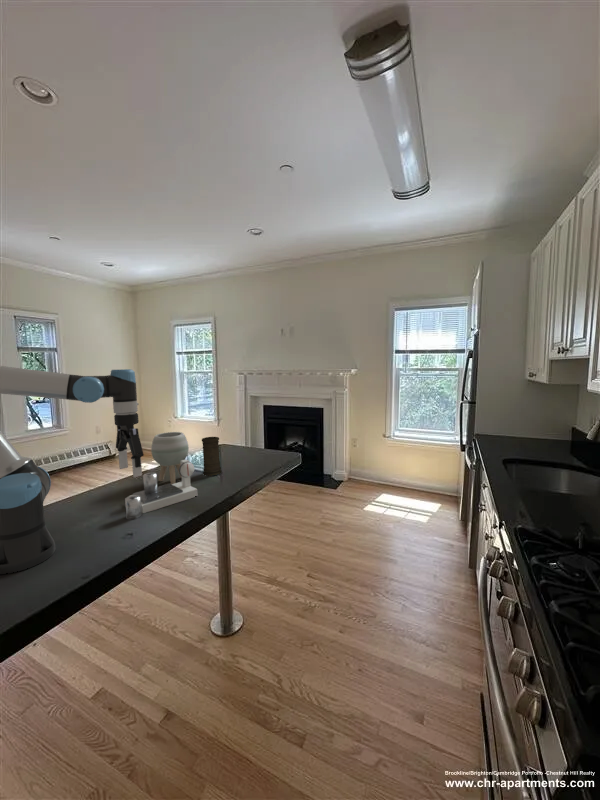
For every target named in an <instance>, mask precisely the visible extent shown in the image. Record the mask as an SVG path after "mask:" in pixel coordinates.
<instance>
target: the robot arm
mask: <svg viewBox="0 0 600 800" xmlns="http://www.w3.org/2000/svg"><path fill="white" fill-rule="evenodd" d="M135 373H136V371H134V370H133V369H111V371H110V373H109V374H108V375H79V374H78V375H77V374H70V373H69V374H68V373H60V372H53V371H45V370H38V369H37V370H36V369H30V368H29V369H28V368H20V367H13V366H4V365H0V395H11V396H12V395H13V396H23V397H34V398H35V397H36V398H46V399H59V400H69V401H78V402H81V403H89V404H90V403H91V404H92V403H94V402H95V403H96V402H97V401H99V400H100V399H101V398H112V406H113V408H112V409H113V413H114V416H113V418H114V425H115V426H116V431H117V432H116V440H115V449H116V450H117V451H118V465H119V470H123V469H127V468H129V461H128V447H129V450H130V453H131V457H130V459H131V464H132V465H131V466H132V477H133V478H137V477H141V476H143V470H142V469H143V468H142V457H144V456H145V455H144V450H143V446H142V443H141V438H140V434H139V428H135V427H134V426H135V425H137V424H138V423H139V414H138V411H139V410H138V406H139V402H138V394H137V381H136V374H135ZM127 445H128V447H127ZM51 487H52V481H51V477H50V475H49V473H48V471H46V469H44V468H42V467H40V466H38V465H37V464H36V463H35V461H34V460H33V459H32V458H31V457H25V456H22V455H21V454H20V453H19V452H18V450H17V449H16V448H15V446H14V445H13V444H12V443H11V442H10V441H9V439H8V438H7V437H6V435H4V433H3V432H2V430H0V575H7V574H6V573H8V574H13V572H14V573H17V571H18V572H21V571H24V570H27V568H28V569H30V568H33V567H34V566H35V567H36V566H37V565H39V564H41V563H43V562H45V561H47V560H48V559H49V558H51V557H52V556H53V555H54V554H55V552H56V542H55V540H54V537H52V535H51V533H50V531H49V530H48V528H47V526H46V521H45V519H46V518H45V517H46V516H45V511H44V509H45V508H44V501H45V500H46V498H47V495H48V494H49V492H50V490H51Z"/></svg>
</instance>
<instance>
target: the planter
mask: <svg viewBox="0 0 600 800" xmlns="http://www.w3.org/2000/svg"><path fill="white" fill-rule="evenodd" d="M150 449H151V450H150V451H151V456H152V458H153V460H154V461H155V462H156V463H157V464H158V465H160V470H159V477H158V481H159V482H163V481H164V479H165V476H166V471H167V468H168V472H169V481H170V482H169V483H170V484H174V483H177V482H176V470H177V472H178V475H179V478H180V479H182V477H181V475H180V474H179V468H180V466H181V461H182V460H186V459H187V456H188V455H189V442H188V439H187V436H186V435H185V434H184V432H181V431H170V432H167V431H166V432H162V433H157V434H155V436H154V437H153V439H152V444H151V448H150Z"/></svg>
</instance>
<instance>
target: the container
mask: <svg viewBox="0 0 600 800" xmlns="http://www.w3.org/2000/svg"><path fill="white" fill-rule="evenodd" d="M219 440H220V438H219V437H218V436H207V437H202V438H201V442H202V453H203V454H202V456H203V469H202V471H203V472H202V474H204V475H203V476H205V475H206V476H205V477H213V476H212V475H217V474H219V475H221V474H222V466H221V461H220V445H219ZM220 473H221V474H220ZM217 476H218V475H217Z"/></svg>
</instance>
